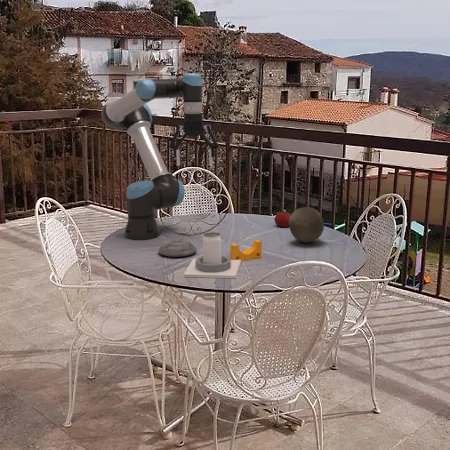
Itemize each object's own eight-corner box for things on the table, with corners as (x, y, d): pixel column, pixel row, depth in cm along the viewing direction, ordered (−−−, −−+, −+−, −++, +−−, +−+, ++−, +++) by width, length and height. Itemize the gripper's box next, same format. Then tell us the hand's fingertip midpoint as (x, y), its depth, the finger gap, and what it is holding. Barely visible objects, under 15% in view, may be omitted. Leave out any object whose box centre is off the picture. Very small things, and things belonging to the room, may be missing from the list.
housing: (183, 277, 202) (183, 267, 202) (193, 261, 220) (192, 252, 219) (235, 278, 200) (235, 268, 199) (241, 262, 217) (240, 253, 217)
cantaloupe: (290, 238, 249) (290, 203, 246) (324, 239, 246) (325, 204, 243) (287, 247, 236) (287, 210, 232) (322, 248, 233) (323, 211, 229)
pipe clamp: (255, 254, 227) (255, 238, 225) (261, 257, 223) (261, 241, 222) (228, 259, 221) (228, 243, 220) (234, 262, 218) (233, 245, 216)
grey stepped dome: (161, 261, 221) (161, 247, 220) (155, 250, 236) (155, 237, 234) (200, 257, 225) (200, 243, 224) (192, 247, 239) (192, 234, 238)
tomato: (271, 226, 268) (271, 211, 267) (280, 223, 275) (280, 208, 273) (287, 229, 264) (287, 213, 262) (295, 225, 270) (295, 210, 269)
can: (219, 270, 206) (218, 237, 203) (201, 269, 207) (200, 236, 204) (223, 264, 212) (222, 232, 209) (205, 263, 213) (205, 231, 210)
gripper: (160, 113, 234) (162, 166, 239) (222, 113, 231) (223, 166, 236) (164, 112, 241) (166, 163, 247) (225, 112, 238) (225, 164, 243)
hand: (194, 165), depth 241 cm, fingers open, 13 cm apart
